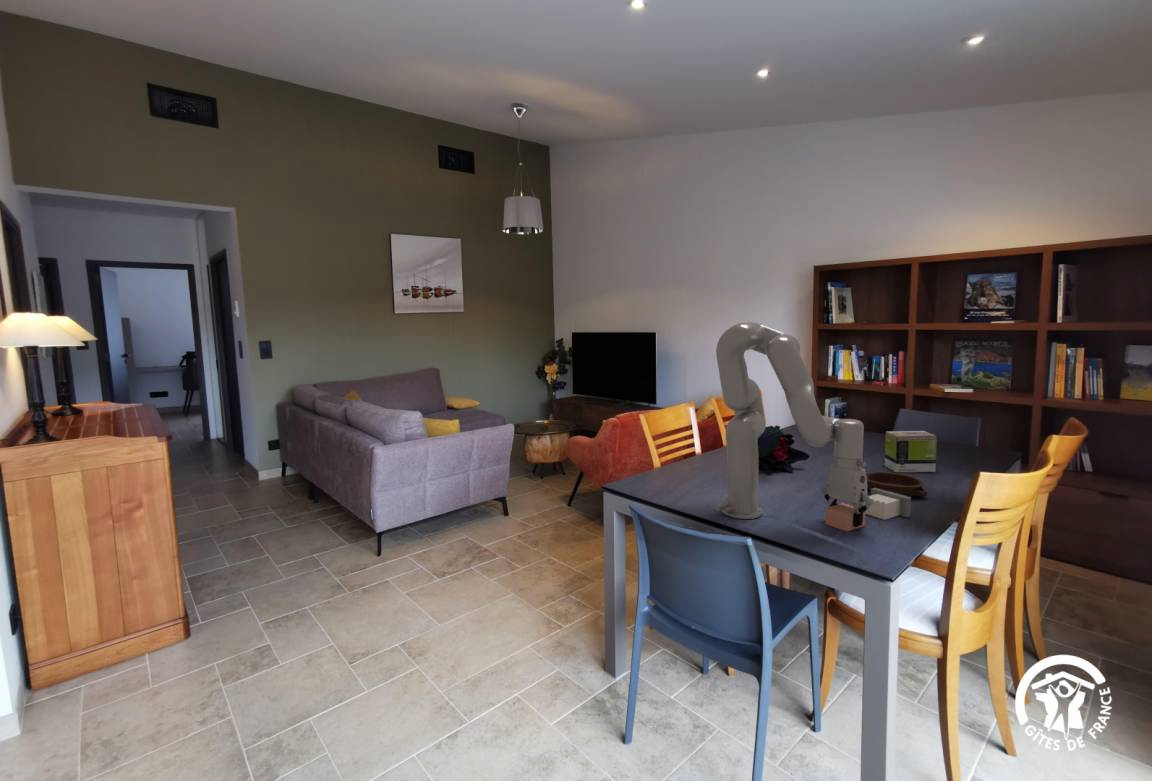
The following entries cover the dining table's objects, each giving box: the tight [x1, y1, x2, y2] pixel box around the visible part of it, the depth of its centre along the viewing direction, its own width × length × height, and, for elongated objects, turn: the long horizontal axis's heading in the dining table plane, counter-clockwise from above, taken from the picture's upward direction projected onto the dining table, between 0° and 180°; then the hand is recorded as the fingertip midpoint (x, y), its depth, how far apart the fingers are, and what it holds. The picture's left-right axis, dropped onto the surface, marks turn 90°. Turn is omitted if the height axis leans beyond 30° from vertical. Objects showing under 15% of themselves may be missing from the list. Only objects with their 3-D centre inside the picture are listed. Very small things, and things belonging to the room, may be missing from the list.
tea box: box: [884, 430, 938, 473], centre depth 224 cm, size 15×10×15 cm, turn 84°
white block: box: [862, 488, 912, 521], centre depth 175 cm, size 12×12×6 cm
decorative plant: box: [757, 424, 810, 474], centre depth 226 cm, size 21×26×30 cm
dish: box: [866, 471, 928, 497], centre depth 198 cm, size 18×22×5 cm
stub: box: [825, 502, 867, 533], centre depth 166 cm, size 8×7×5 cm
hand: (845, 521), depth 166 cm, fingers closed on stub, 7 cm apart
